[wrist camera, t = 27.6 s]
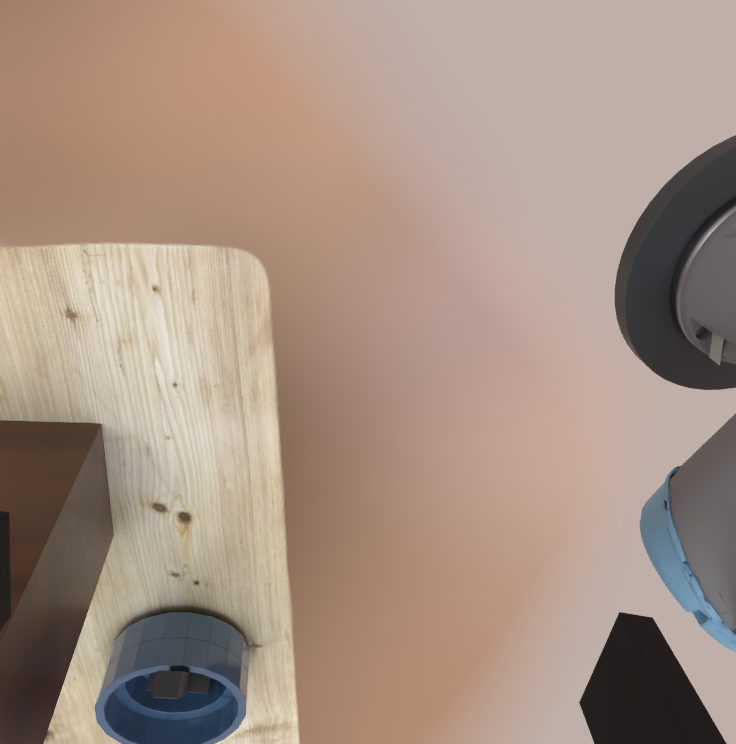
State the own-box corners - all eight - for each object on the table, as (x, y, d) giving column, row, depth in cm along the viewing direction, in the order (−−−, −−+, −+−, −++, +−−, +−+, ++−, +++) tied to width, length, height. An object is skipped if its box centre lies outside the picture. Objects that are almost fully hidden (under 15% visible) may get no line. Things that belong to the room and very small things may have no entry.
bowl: (251, 604, 60) (247, 663, 55) (247, 688, 67) (244, 749, 61) (107, 606, 58) (88, 668, 53) (118, 693, 65) (102, 756, 59)
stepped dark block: (130, 668, 44) (125, 696, 43) (207, 672, 45) (203, 700, 44) (158, 671, 63) (154, 691, 62) (212, 674, 63) (209, 693, 63)
